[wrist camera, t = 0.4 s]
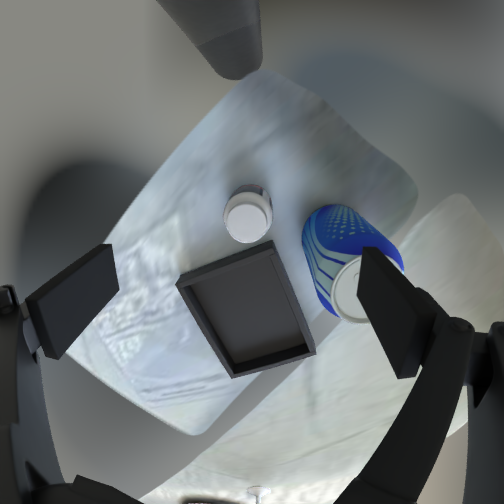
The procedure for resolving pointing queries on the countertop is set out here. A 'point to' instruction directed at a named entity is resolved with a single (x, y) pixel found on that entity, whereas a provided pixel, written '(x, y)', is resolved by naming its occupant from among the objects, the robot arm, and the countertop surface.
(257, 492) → the champagne flute
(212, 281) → the tray
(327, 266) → the beer can
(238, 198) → the pill bottle
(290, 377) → the countertop surface
